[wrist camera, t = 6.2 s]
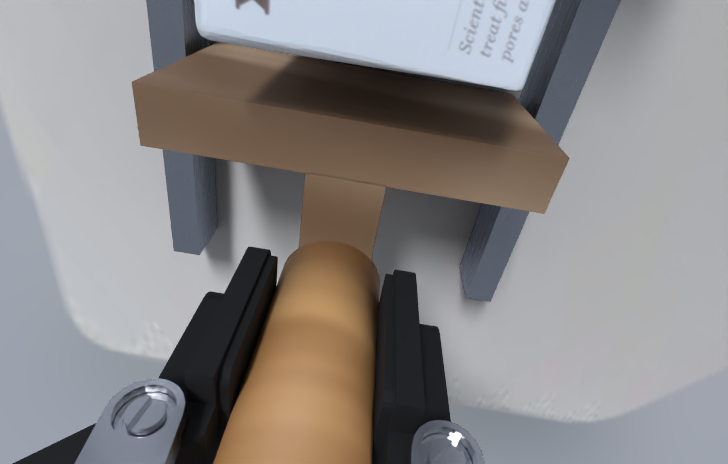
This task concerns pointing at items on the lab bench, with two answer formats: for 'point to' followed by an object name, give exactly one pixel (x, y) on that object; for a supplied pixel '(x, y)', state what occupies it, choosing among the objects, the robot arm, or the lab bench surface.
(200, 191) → the clamp frame
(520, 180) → the sliding jaw
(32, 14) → the lab bench surface
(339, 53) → the skincare box
